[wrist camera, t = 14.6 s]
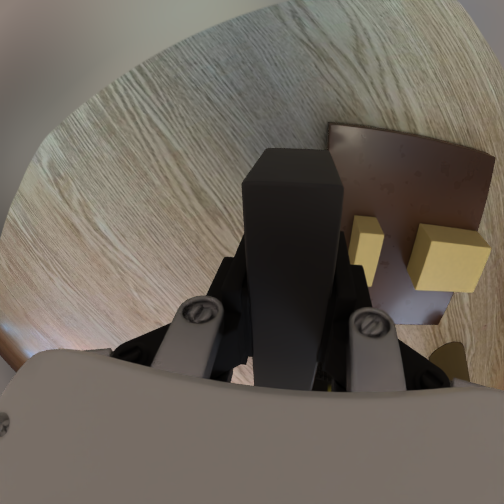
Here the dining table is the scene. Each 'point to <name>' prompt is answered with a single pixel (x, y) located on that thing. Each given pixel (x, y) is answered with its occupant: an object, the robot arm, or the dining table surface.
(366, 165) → the cutting board
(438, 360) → the cork
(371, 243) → the butter slice
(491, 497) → the robot arm
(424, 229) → the butter stick
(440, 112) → the dining table surface
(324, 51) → the dining table surface
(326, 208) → the knife
